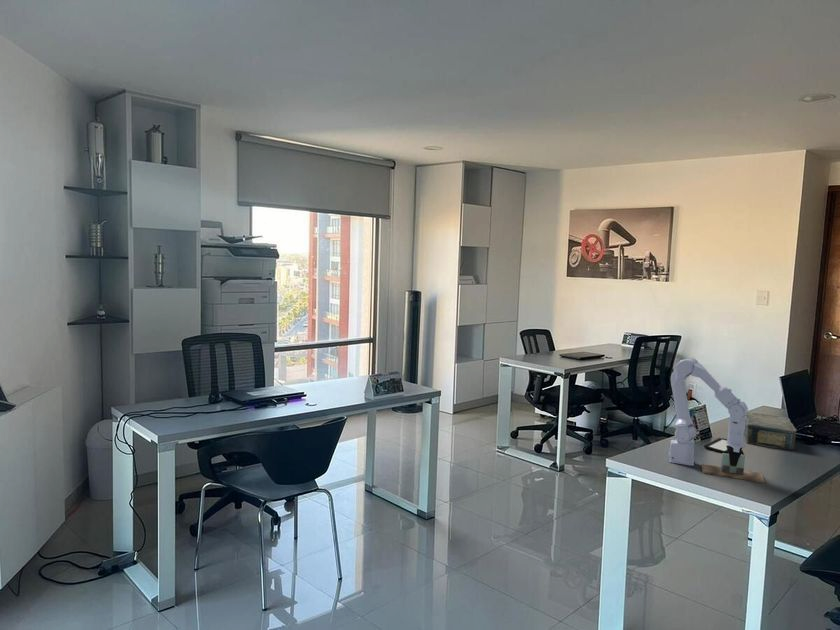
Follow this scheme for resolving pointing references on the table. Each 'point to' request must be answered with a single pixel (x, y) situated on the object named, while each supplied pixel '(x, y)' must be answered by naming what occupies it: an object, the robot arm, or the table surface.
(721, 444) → the decorative sign
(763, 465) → the table surface
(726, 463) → the door panel
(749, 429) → the metal box
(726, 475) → the rail
